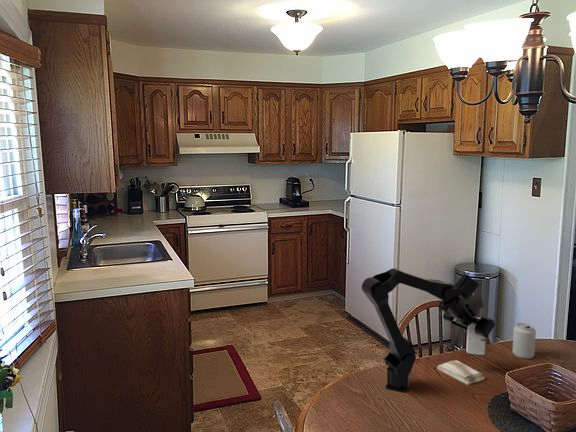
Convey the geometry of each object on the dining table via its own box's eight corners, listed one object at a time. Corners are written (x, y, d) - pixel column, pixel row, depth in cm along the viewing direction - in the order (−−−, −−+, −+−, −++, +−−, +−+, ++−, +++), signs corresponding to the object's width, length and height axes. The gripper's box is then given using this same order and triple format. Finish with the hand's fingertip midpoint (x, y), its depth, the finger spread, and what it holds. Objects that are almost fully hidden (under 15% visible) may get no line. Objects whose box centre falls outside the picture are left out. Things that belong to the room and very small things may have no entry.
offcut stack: (467, 385, 161) (467, 378, 160) (436, 368, 173) (436, 362, 173) (484, 379, 164) (485, 372, 164) (453, 363, 177) (453, 357, 176)
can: (532, 361, 177) (533, 330, 176) (510, 356, 182) (511, 326, 180) (536, 354, 183) (537, 324, 181) (515, 349, 188) (516, 320, 186)
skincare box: (466, 353, 170) (468, 320, 168) (466, 348, 174) (467, 316, 173) (485, 355, 168) (487, 322, 166) (484, 350, 172) (486, 317, 171)
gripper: (492, 296, 158) (514, 323, 164) (450, 283, 174) (470, 308, 181) (474, 323, 156) (496, 350, 162) (432, 307, 172) (454, 331, 178)
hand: (479, 333), depth 171 cm, fingers closed on skincare box, 7 cm apart
